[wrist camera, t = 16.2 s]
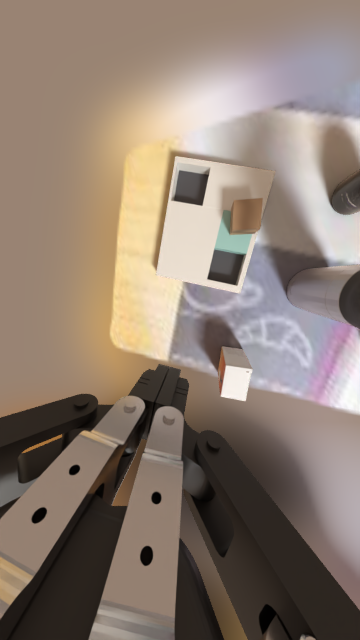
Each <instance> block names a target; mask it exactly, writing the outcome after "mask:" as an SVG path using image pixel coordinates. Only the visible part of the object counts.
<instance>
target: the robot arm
mask: <svg viewBox="0 0 360 640" xmlns="http://www.w3.org/2000/svg"><path fill="white" fill-rule="evenodd" d="M287 297H288V299H289V301H290V302H291V304H292V305H294V306H295V307H297V308H300V309H303V310H306V311H308V312H311V313H314V314H317V315H321V316H324V317H327V318H330V319H333V320H336V321H339V322H342V323H345V324H348V325H351V326H354V327H357V328H360V264H359V265H347V266H335V267H324V268H312V269H305V270H303V271H300V272H299V273H297V274H296V275H295V276H294V277H292V279H291V280H290V282H289V284H288V287H287ZM169 368H170V369H169ZM180 371H181V370H180V369H176V368H173V367H169V366H165V365H161V364H159V365H158V367H157V369H156V370H155V371H154V370H150V369H149V370H147V371H145V372H144V373H143V374H142V376H141V377H140V379H139V380H138V382H137V383H136V384H135V386H134V387H133V389H132V390H131V392H130V394H129V395H128V396H126V397H123V398H121V399H119V400H118V401H117V402H116V403H115V404H114V405H98V400H97V398H96V397H95V396H93V395H90V394H79V395H75V396H72V397H69V398H66V399H62V400H59V401H55V402H52V403H48V404H45V405H42V406H38V407H35V408H32V409H29V410H25V411H22V412H18V413H15V414H11V415H8V416H5V417H1V418H0V640H224V638H223V635H222V633H221V630H220V627H219V624H218V621H217V619H216V616H215V613H214V610H213V608H212V605H211V602H210V599H209V596H208V594H207V591H206V588H205V586H204V582H203V580H202V577H201V574H200V572H199V569H198V567H197V565H196V563H195V560H194V558H193V556H192V555H191V553H190V551H189V550H188V548H187V546H186V545H185V544H184V543H183V541H182V540H181V539H180V538H179V532H180V514H181V496H182V488H183V491H184V496H185V498H186V501H187V503H188V505H189V507H190V510H191V512H192V514H193V517H194V519H195V521H196V523H197V526H198V528H199V530H200V532H201V534H202V537H203V539H204V541H205V544H206V546H207V548H208V550H209V553H210V555H211V557H212V559H213V562H214V564H215V566H216V568H217V571H218V573H219V575H220V577H221V580H222V582H223V584H224V587H225V589H226V591H227V593H228V595H229V598H230V600H231V602H232V605H233V607H234V609H235V611H236V614H237V616H238V618H239V620H240V623H241V625H242V627H243V629H244V632H245V634H246V636H247V638H248V640H360V610H359V609H358V608H357V606H356V605H355V604H354V603H353V601H352V600H351V599H350V598H349V596H348V595H347V594H346V593H345V591H344V590H343V589H342V587H341V586H340V585H339V584H338V582H337V581H336V580H335V579H334V577H333V576H332V575H331V573H330V572H329V571H328V570H327V568H326V567H325V566H324V565H323V563H322V562H321V561H320V560H319V558H318V557H317V556H316V554H315V553H314V552H313V551H312V549H311V548H310V547H309V546H308V544H307V543H306V542H305V541H304V539H303V538H302V537H301V535H300V534H299V533H298V532H297V530H296V529H295V528H294V527H293V525H292V524H291V523H290V521H289V520H288V519H287V518H286V516H285V515H284V514H283V513H282V511H281V510H280V509H279V508H278V506H277V505H276V504H275V503H274V501H273V500H272V499H271V497H270V496H269V495H268V494H267V492H266V491H265V490H264V489H263V487H262V486H261V485H260V483H259V482H258V481H257V480H256V478H255V477H254V476H253V475H252V473H251V472H250V471H249V469H248V468H247V467H246V466H245V464H244V463H243V462H242V461H241V459H240V458H239V457H238V456H237V454H236V453H235V452H234V450H232V448H231V447H230V445H229V444H228V443H227V441H226V440H225V439H224V438H223V437H222V436H221V435H219V434H218V433H216V432H214V431H210V430H207V431H203V432H201V433H200V434H199V433H197V432H196V431H194V430H193V429H191V428H190V427H189V426H188V425H187V423H186V421H185V419H184V411H185V406H186V400H187V394H188V388H189V383H188V381H187V379H184V378H180V377H179V375H180ZM61 434H62V438H60V439H57V440H55V441H52V442H50V443H48V444H45V445H43V446H40V447H38V448H36V449H33V450H31V451H28V452H26V453H22V452H23V451H24V450H26V449H27V448H29V447H32V446H34V445H36V444H39V443H41V442H44V441H46V440H49V439H51V438H53V437H56V436H58V435H61ZM148 435H149V437H148ZM147 438H148V441H147V444H146V448H145V451H144V452H143V455H142V459H141V462H140V466H139V469H138V472H137V476H136V479H135V483H134V486H133V490H132V493H131V497H130V500H129V504H128V506H112V503H113V501H114V498H115V496H116V493H117V491H118V489H119V487H120V485H121V483H122V481H123V479H124V477H125V475H126V473H127V471H128V469H129V467H130V465H131V462H132V461H133V459H134V457H135V455H136V452H137V448H138V446H139V444H140V442H141V439H145V440H147Z"/></svg>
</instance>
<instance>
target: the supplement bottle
mask: <svg viewBox="0 0 360 640" xmlns="http://www.w3.org/2000/svg"><path fill="white" fill-rule="evenodd" d="M332 205H333V208H334V209H335V211H336V212H338V213H340V214H343V215H350V214H354V213H356V212H359V211H360V169H359V170H358V171H356V172H355V173H353V174H352V175H351V176H349V177H348V178H346V179H345V180H344V181H342V182H341V183H340V184H339V185H338V186H337V188H336V189H335V191H334V193H333V196H332Z"/></svg>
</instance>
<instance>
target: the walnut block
mask: <svg viewBox="0 0 360 640" xmlns="http://www.w3.org/2000/svg"><path fill="white" fill-rule="evenodd" d="M262 202H263V198H255V199H242V200H234V201H233V204H232V207H231V218H230V235H240V234H255V233H256V232H257V231H258V230H259V229H260V226H261V214H262Z"/></svg>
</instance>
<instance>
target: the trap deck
mask: <svg viewBox="0 0 360 640" xmlns="http://www.w3.org/2000/svg"><path fill="white" fill-rule="evenodd" d="M275 172H276V171H272V170H265V169H259V168H252V167H245V166H239V165H232V164H225V163H218V162H212V161H205V160H198V159H192V158H185V157H178V156H175V163H174V169H173V175H172V181H171V187H170V193H169V199H168V205H167V211H166V217H165V223H164V229H163V235H162V241H161V247H160V254H159V260H158V266H157V272H156V275H157V276H162V277H167V278H171V279H176V280H180V281H185V282H190V283H194V284H199V285H203V286H208V287H213V288H217V289H222V290H226V291H231V292H236V293H240V292H241V288H242V285H243V281H244V278H245V275H246V271H247V268H248V264H249V261H250V257H251V254H252V250H253V247H254V244H255V240H256V237H257V233H258V231H257V232H256V233H255V234H240V235H230V218H231V207H232V204H233V201H234V200H242V199H255V198H263V202H262V214H261V220H262V216H263V213H264V209H265V206H266V203H267V199H268V196H269V192H270V189H271V185H272V182H273V179H274V175H275Z"/></svg>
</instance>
